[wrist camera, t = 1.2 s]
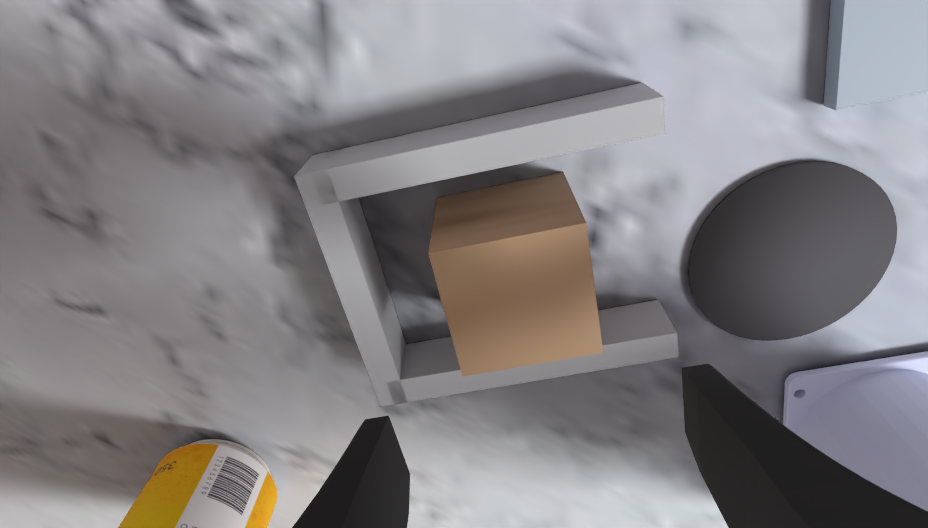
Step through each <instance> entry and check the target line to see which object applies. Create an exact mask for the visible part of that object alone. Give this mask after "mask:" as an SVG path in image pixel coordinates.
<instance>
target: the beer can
mask: <svg viewBox="0 0 928 528" xmlns="http://www.w3.org/2000/svg"><path fill="white" fill-rule="evenodd" d="M276 501H277V488H276V484H275V482H274V480H273V478H272V476H271V473H270V470H269V468H268V466H267V465H266V463H265V462H264V461H263V460H262V458H261V457H259V456H258V455H257V454H256V453H255V452H253V451H252V450H250V449H248V448H247V447H245V446H243V445H240V444H238V443H234V442H231V441H227V440H220V439H206V440H200V441H196V442H193V443H191V444H189V445H186V446H182V447H179V448H177V449H175V450H173V451H171V452H170V453H168V454H167V455H166V456H165V457H163V459H162V460H161V461H160V463H159V464H158V466H157V467H156V469H155V470H154V472H153V474H152V475H151V477H150V478H149V480H148V482H147V483H146V485H145V486H144V488H143V489H142V491H141V493H140V494H139V496H138V497H137V499H136V500H135V502H134V504H133V505H132V507H131V508H130V510H129V512H128V513H127V515H126V516H125V518H124V519H123V521H122V523H121V524H120V526H119V527H118V528H267V526H268V524H269V521H270V518H271V515H272V513H273V510H274V507H275V504H276Z"/></svg>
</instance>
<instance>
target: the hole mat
mask: <svg viewBox="0 0 928 528" xmlns="http://www.w3.org/2000/svg"><path fill="white" fill-rule="evenodd" d="M896 236H897V224H896V216H895V213H894V209H893V206H892V204H891V202H890V200H889V198H888V196H887V195H886V193H885V192H884V191H883V189H882V188H881V187H880V186H879V185H878V184H877V183H876V182H874V181H873V180H872V179H871V178H869V177H867V176H866V175H864V174H863V173H861V172H859V171H857V170H854V169H852V168H850V167H847V166H844V165H840V164H836V163H831V162H822V161H813V162H800V163H793V164H789V165H785V166H781V167H777V168H775V169H772V170H769V171H767V172H764V173H762V174H760V175H758V176H756V177H754V178H752V179H750V180H749V181H747V182H746V183H744V184H742V185H741V186H739V187H738V188H736V189H735V190H734V191H733V192H731V193H730V194H729V195H728V196H726V197H725V198H724V199H723V200H722V201H721V202H720V203H719V204H718V205H717V206H716V207H715V209H714V210H713V211H712V212H711V214H710V215H709V216H708V217H707V219H706V220H705V222H704V224H703V225H702V227H701V228H700V230H699V232H698V234H697V236H696V239H695V241H694V244H693V247H692V250H691V254H690V260H689V282H690V287H691V290H692V293H693V296H694V298H695V300H696V302H697V304H698V305H699V307H700V308H701V310H702V311H703V312H704V314H705V315H706V316H707V317H708V318H709V319H710V320H711V321H712V322H713V323H714V324H716V325H717V326H718V327H720V328H721V329H723V330H725V331H727V332H729V333H731V334H734V335H737V336H740V337H743V338H748V339H753V340H783V339H790V338H794V337H799V336H802V335H806V334H809V333H812V332H814V331H817V330H819V329H822V328H824V327H826V326H828V325H830V324H832V323H833V322H835V321H837V320H839V319H840V318H842V317H843V316H845V315H846V314H848V313H849V312H850V311H851V310H853V309H854V308H855V307H856V306H858V305H859V304H860V303H861V302H862V301H863V300H864V299H865V298H866V297H867V296H868V295H869V294H870V293H871V291H872V290H873V289H874V288H875V287H876V285H877V284H878V282H879V281H880V280H881V278H882V277H883V275H884V273H885V271H886V269H887V267H888V265H889V263H890V261H891V258H892V255H893V253H894V248H895V244H896Z"/></svg>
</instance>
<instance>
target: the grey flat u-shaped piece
mask: <svg viewBox="0 0 928 528" xmlns="http://www.w3.org/2000/svg"><path fill="white" fill-rule="evenodd" d="M665 133H666V129H665V112H664V96H662V95H661V94H659V93H657V92H656V91H654V90H653V89H651V88H650V87H648V86H647V85H645V84H644V83H638V84H634V85H629V86H624V87H620V88H615V89H611V90H606V91H602V92H597V93H593V94H588V95H583V96H579V97H574V98H570V99H565V100H561V101H556V102H552V103H547V104H543V105H538V106H533V107H529V108H524V109H520V110H515V111H511V112H506V113H502V114H497V115H492V116H488V117H483V118H479V119H474V120H470V121H465V122H461V123H456V124H452V125H447V126H442V127H438V128H433V129H429V130H424V131H420V132H415V133H411V134H406V135H402V136H397V137H392V138H388V139H383V140H379V141H374V142H370V143H365V144H361V145H356V146H351V147H347V148H342V149H338V150H333V151H329V152H324V153H320V154H315V155H312V156H311V157H310V158H309V160H308V161H307V162H306V163H305V164H304V165H303V166H302V168H301V169H300V170H299V171H298V172H297V173H296V175H295V176H294V178H295V181H296V183H297V186H298V189H299V191H300V194H301V197H302V199H303V202H304V205H305V207H306V210H307V213H308V215H309V218H310V221H311V223H312V226H313V229H314V231H315V234H316V237H317V239H318V242H319V245H320V247H321V250H322V253H323V255H324V258H325V261H326V263H327V266H328V269H329V271H330V274H331V277H332V279H333V282H334V285H335V287H336V290H337V293H338V295H339V298H340V301H341V303H342V306H343V309H344V311H345V314H346V317H347V319H348V322H349V325H350V327H351V330H352V333H353V335H354V338H355V341H356V343H357V346H358V349H359V351H360V354H361V357H362V359H363V362H364V365H365V367H366V370H367V373H368V375H369V378H370V381H371V383H372V386H373V389H374V391H375V394H376V397H377V399H378V402H379V405H380V407H382V406H388V405H394V404H400V403H406V402H412V401H418V400H424V399H430V398H436V397H442V396H448V395H454V394H460V393H466V392H472V391H479V390H485V389H491V388H497V387H503V386H509V385H515V384H521V383H527V382H533V381H539V380H545V379H551V378H557V377H563V376H569V375H575V374H581V373H587V372H593V371H599V370H605V369H611V368H617V367H623V366H629V365H635V364H641V363H647V362H653V361H659V360H665V359H672V358H678V357H679V352H678V335H677V331H676V330H675V328H674V326H673V324H672V322H671V321H670V319H669V317H668V315H667V314H666V312H665V310H664V308H663V307H662V305H661V303H660V301H659V300H654V301H648V302H642V303H637V304H631V305H625V306H620V307H614V308H608V309H603V310H598V316H599V324H600V331H601V339H602V346H603V353H599V354H593V355H587V356H581V357H575V358H569V359H563V360H557V361H551V362H545V363H539V364H534V365H528V366H522V367H516V368H510V369H504V370H498V371H492V372H486V373H480V374H474V375H468V376H462V373H461V369H460V366H459V362H458V358H457V355H456V351H455V348H454V344H453V341H452V337H445V338H439V339H434V340H428V341H423V342H417V343H411V344H406V342H405V339H404V336H403V333H402V330H401V327H400V323H399V320H398V317H397V314H396V311H395V308H394V305H393V302H392V299H391V296H390V293H389V290H388V287H387V284H386V281H385V278H384V274H383V271H382V268H381V265H380V262H379V259H378V256H377V253H376V250H375V247H374V244H373V241H372V238H371V235H370V232H369V229H368V225H367V222H366V219H365V216H364V213H363V210H362V207H361V204H360V201H359V197H364V196H368V195H373V194H378V193H383V192H388V191H392V190H397V189H402V188H407V187H412V186H416V185H421V184H426V183H431V182H435V181H440V180H445V179H450V178H455V177H459V176H464V175H469V174H474V173H478V172H483V171H488V170H493V169H498V168H502V167H507V166H512V165H517V164H522V163H526V162H531V161H536V160H541V159H545V158H550V157H555V156H560V155H565V154H569V153H574V152H579V151H584V150H588V149H593V148H598V147H603V146H608V145H612V144H617V143H622V142H627V141H632V140H636V139H641V138H646V137H651V136H655V135H660V134H665Z"/></svg>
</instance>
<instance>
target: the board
mask: <svg viewBox="0 0 928 528" xmlns="http://www.w3.org/2000/svg"><path fill="white" fill-rule="evenodd" d="M927 91H928V0H831V4H830V18H829V33H828V47H827V62H826V76H825V91H824V106H826V107H829V108H832V109H834V110H840V109H845V108H850V107H855V106H859V105H864V104H869V103H874V102H879V101H884V100H888V99H893V98H898V97H903V96H908V95H913V94H917V93H922V92H927Z"/></svg>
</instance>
